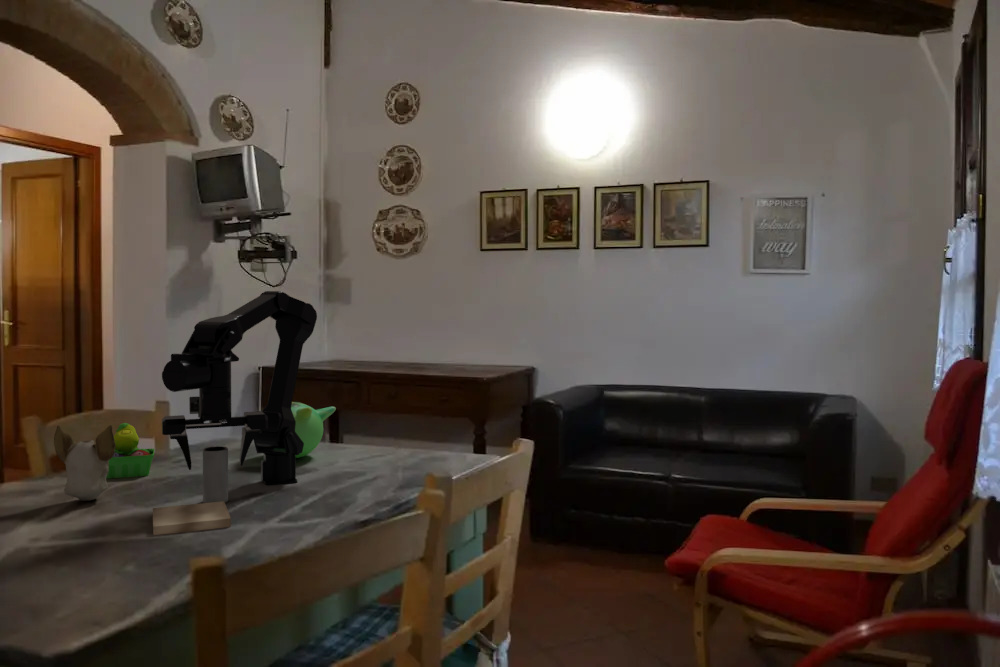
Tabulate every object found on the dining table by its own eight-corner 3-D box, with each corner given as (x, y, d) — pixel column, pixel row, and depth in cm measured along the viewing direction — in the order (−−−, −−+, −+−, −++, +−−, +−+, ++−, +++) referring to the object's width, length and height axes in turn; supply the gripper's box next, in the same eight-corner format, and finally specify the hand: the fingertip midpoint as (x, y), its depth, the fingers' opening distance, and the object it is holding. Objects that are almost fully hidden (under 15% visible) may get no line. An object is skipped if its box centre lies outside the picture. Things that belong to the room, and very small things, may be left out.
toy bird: (275, 450, 195) (275, 394, 194) (337, 452, 192) (337, 395, 192) (242, 464, 177) (242, 402, 176) (310, 467, 174) (310, 404, 174)
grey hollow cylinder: (219, 505, 140) (219, 451, 140) (198, 504, 141) (197, 450, 141) (232, 499, 145) (232, 446, 145) (211, 498, 146) (211, 445, 145)
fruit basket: (94, 482, 158) (94, 429, 158) (98, 473, 166) (98, 423, 166) (154, 477, 163) (153, 426, 162) (155, 469, 171) (154, 420, 170)
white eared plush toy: (125, 495, 147) (125, 420, 146) (110, 507, 138) (109, 427, 138) (67, 497, 145) (66, 420, 145) (48, 509, 137) (47, 428, 136)
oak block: (224, 511, 138) (224, 501, 138) (230, 529, 127) (230, 518, 127) (152, 519, 133) (152, 508, 133) (153, 538, 122) (153, 526, 122)
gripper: (260, 380, 154) (260, 455, 154) (160, 384, 146) (161, 463, 146) (268, 386, 144) (268, 466, 144) (162, 390, 136) (162, 475, 136)
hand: (215, 467), depth 143 cm, fingers open, 9 cm apart
